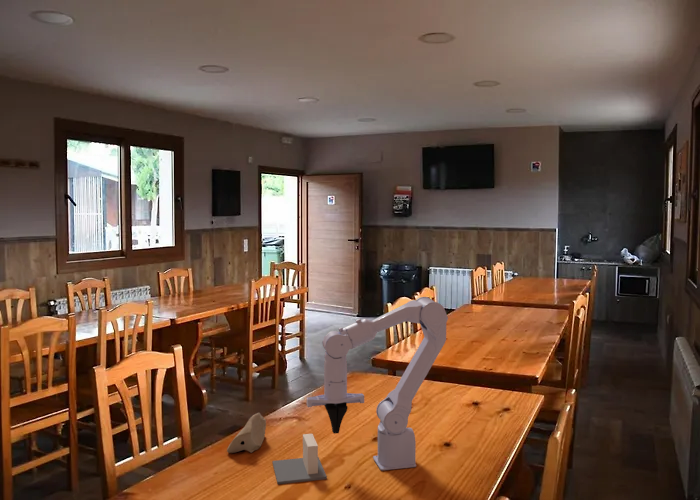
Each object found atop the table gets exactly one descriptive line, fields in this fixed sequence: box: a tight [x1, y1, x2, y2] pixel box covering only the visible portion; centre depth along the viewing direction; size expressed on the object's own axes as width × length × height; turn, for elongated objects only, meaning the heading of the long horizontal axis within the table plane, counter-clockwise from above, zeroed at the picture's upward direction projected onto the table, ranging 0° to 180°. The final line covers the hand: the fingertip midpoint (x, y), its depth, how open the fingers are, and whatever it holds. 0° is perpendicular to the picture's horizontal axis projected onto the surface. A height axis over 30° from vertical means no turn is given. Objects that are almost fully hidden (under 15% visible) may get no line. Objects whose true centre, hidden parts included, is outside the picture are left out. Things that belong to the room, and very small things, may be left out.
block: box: [302, 433, 319, 474], centre depth 151 cm, size 2×8×7 cm, turn 13°
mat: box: [272, 456, 328, 485], centre depth 150 cm, size 12×12×1 cm
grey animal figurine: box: [226, 412, 267, 454], centre depth 166 cm, size 8×14×8 cm, turn 168°
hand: (335, 432), depth 152 cm, fingers closed
